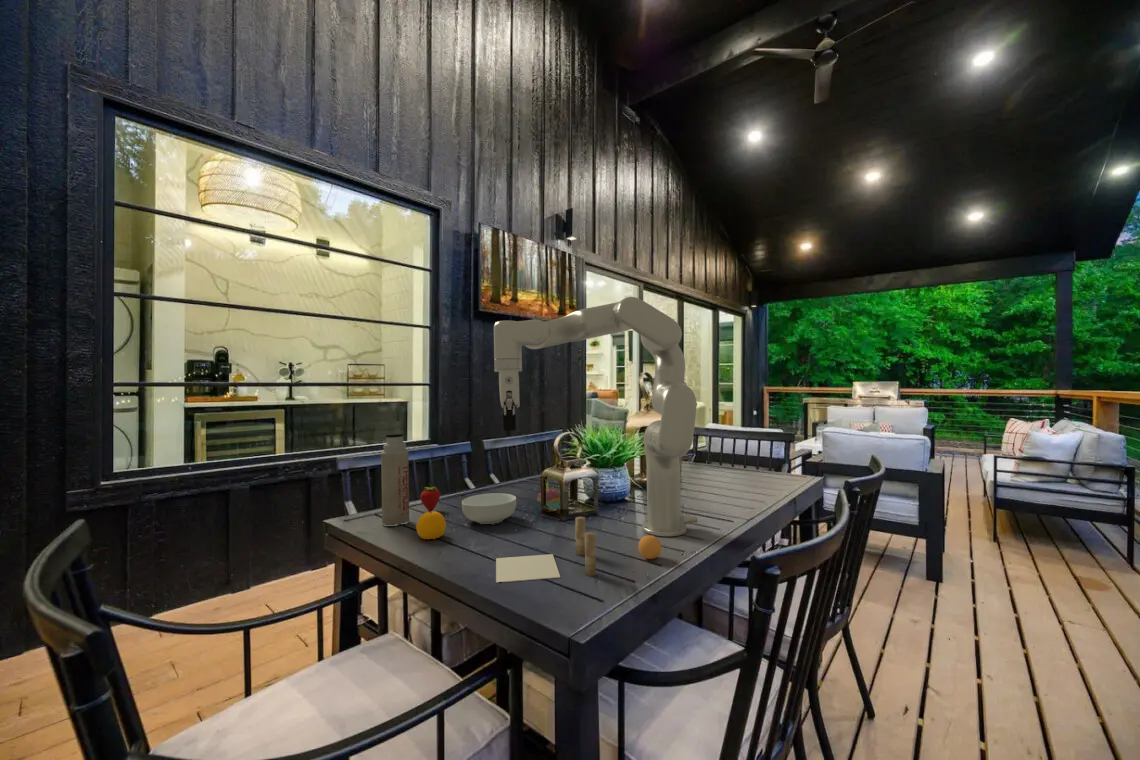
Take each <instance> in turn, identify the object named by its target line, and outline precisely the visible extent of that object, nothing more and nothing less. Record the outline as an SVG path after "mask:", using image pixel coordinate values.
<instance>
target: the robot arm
mask: <svg viewBox="0 0 1140 760" xmlns="http://www.w3.org/2000/svg"><path fill="white" fill-rule="evenodd" d="M631 330H633V331H634V332H635V333H637V334H639V335H640V342H641V345H642V346H643V347H644V349H646V350H647V351H648V352H649V353H650V355H651V356H652V358H653V360H654V365H655V366H654V369H655V370H654V378H653V380H654V381H653V387H652V395H651V407H652V408H653V410H654V411H655V413H657V414H659V415H660V416H661V417H660V420H659V419H658V420H655V421H653V422H651V423H650V424H649V425H648V426H647V427H646V428H645V431H644V435H643V447H644V453H645V462H646V501H647V503H646V506H647V507H646V509H647V517H646V518H647V521H645V522H643V523H642V524H641V525H642V526H641V530H642V531H643V532H644V533H646V534H649V535H652V536H655V537H656V536H657V537H678V536H681V535H685V534H686V533H687V531H688V529H687V524H696V523H698V516H697V515H690V514H682V510H681V509H682V507H681V506H682V505H681V502H682V500H681V495H682V494H681V464H680V458H682V457H684V456H685V455H686V454H687V453H688V452H689V451H690V449H691V447H692V444H693V441H694V440H693V439H694V433H695V425H696V416H697V406H698V405H697V398H696V395H695V393H694V391H693V389H692V388H691V387H690V386H689V385H686V384H685V379H686V378H685V377H686V376H685V374H686V360H685V355H684V353H683V350H682V349H681V347H680V346H679V344H680V342H681V340H682V336H683V331H682V328H681V326H680V325H679V323H678V322H677V320H675V319H673V318H672V317H671V316H669V315H668V314H665V313H664V312H662V311H661V310H659V309H657V308H656V307H654V306H653V305H651V304H649V303H648V302H646V301H644V300H643V299H641V298H638V297H636V296H628V297H625V298H623V299H621V300H619V301H616V302H612V303H607V304H603V305H598V306H597V305H596V306H591V307H586V308H582V309H579V310H575V311H573V312H571V313H569V314H566V315H564V316H562V317H558V318H555V319H551V320H546V321H544V320H541V319H537V318H536V319H528V320H518V321H516V320H498V321H495V323H494V325H493V359H494V361H493V362H494V363H493V366H494V368H493V369H494V372H495V373H498V385H499V388H498V389H499V400H500V405H501V406H500V407H501V408H503V413H502V427H503V431H504V432H507V431H508V432H509V431H510V432H514V431H516V430H517V417H516V416H517V415H516V413H515V406H516V408H519V407H520V405H521V404H520V376H519V372H522V371H523V359H522V357H523V356H522V355H523V354H522V348H523V346H525V347H526V348H527V349H530V350H538V349H544V348H548V347H552V346H553V347H554V346H558V345H562V344H566V343H567V344H568V343H571V342H580V341H584V340H590V339H593V338H598V337H602V336H608V335H612V334H617V333H623V332H626V331H631Z"/></svg>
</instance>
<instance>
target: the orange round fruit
mask: <svg viewBox="0 0 1140 760" xmlns="http://www.w3.org/2000/svg"><path fill="white" fill-rule="evenodd" d="M446 522H447V521H446V519H445V517H444V515H443V514H442V513H440V512H438V511H435V510H433V511H430V512H429V511H426V512H424V513H423V514H421V515H420V517H419V518H418V519H417V522H416V524H415V526H416V532H417V535H418V536H419V537H420V539H423V540H426V539H428V540H429V539H433V540H436V538H437V539H439V538H440V537H442V536H443V535H444V533H445V531H446V526H447V523H446ZM429 541H430V540H429Z"/></svg>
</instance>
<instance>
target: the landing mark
mask: <svg viewBox="0 0 1140 760" xmlns="http://www.w3.org/2000/svg"><path fill="white" fill-rule="evenodd" d="M548 579H561V575H560V572H559V569H558V566H557V563H556V560H555V557H554V554H553V553H552V554H551V553H550V554H538V555H535V554H534V555H523V556H522V555H521V556H511V557H508V556H507V557H497V558H496V559H495V583H496V584H500V583H499V582H502V583H512V582H524V581H536V580H538V581H539V580H548Z"/></svg>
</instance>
